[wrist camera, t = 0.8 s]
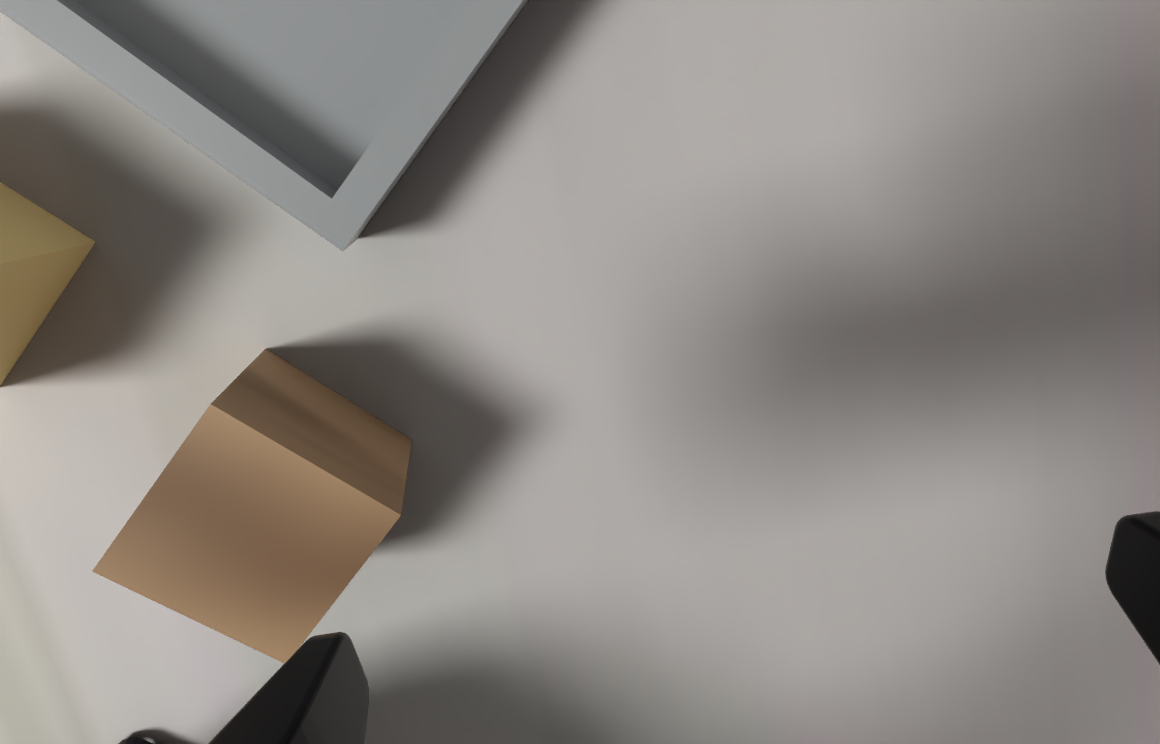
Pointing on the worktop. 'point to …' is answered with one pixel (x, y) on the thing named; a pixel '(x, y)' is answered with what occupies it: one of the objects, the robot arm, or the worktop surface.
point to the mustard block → (31, 270)
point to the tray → (286, 84)
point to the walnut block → (265, 509)
